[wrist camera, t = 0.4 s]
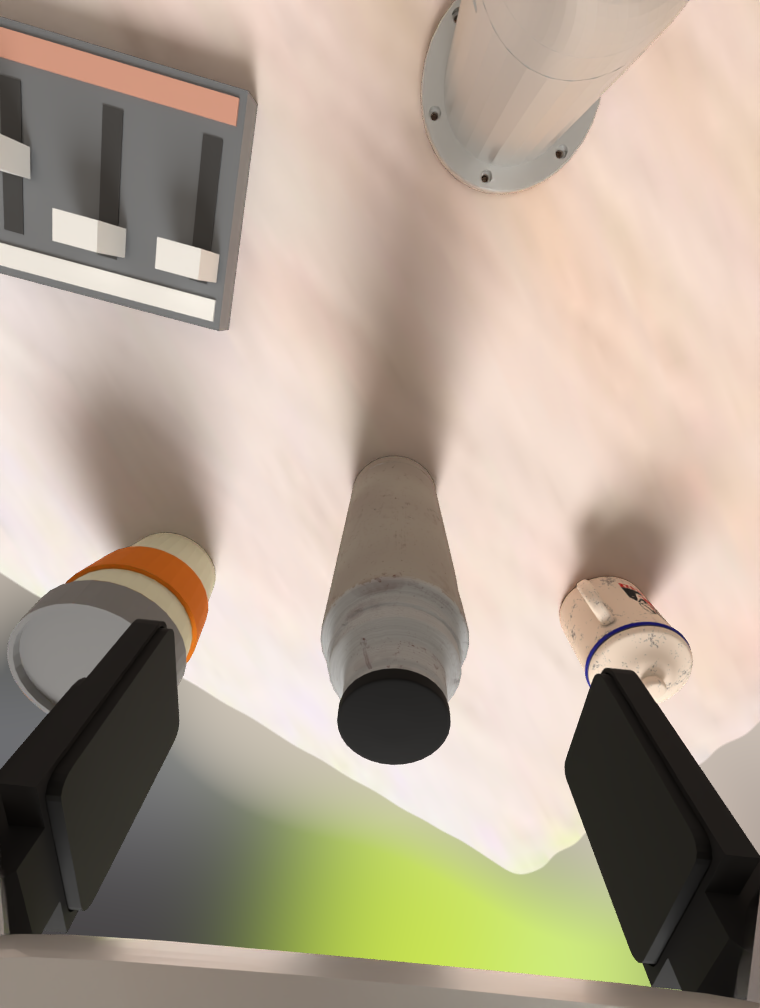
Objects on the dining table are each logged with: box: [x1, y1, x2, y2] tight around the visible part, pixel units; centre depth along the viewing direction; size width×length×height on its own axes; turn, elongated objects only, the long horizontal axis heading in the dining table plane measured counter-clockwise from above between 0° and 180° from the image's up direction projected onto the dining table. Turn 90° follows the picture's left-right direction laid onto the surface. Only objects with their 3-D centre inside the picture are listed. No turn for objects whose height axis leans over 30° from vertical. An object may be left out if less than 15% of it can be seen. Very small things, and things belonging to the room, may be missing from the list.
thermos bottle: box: [321, 456, 469, 765], centre depth 34 cm, size 8×8×28 cm
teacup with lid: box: [560, 577, 693, 704], centre depth 45 cm, size 12×9×12 cm
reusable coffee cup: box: [7, 533, 215, 714], centre depth 44 cm, size 12×13×15 cm
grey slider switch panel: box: [0, 17, 258, 331], centre depth 35 cm, size 16×25×7 cm, turn 76°
